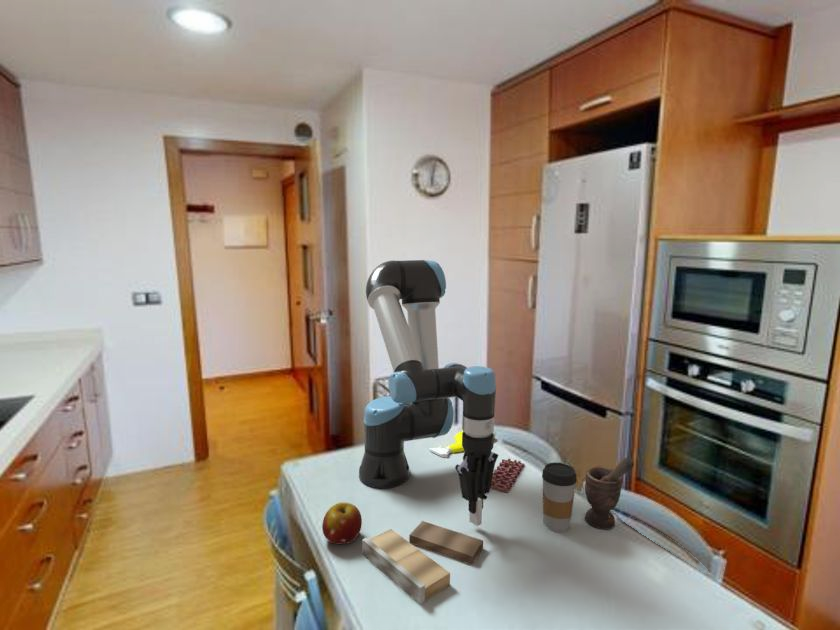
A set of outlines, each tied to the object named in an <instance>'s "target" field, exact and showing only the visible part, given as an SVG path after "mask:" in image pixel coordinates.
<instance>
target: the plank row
mask: <svg viewBox="0 0 840 630" xmlns="http://www.w3.org/2000/svg"><path fill="white" fill-rule="evenodd" d="M361 544H362V547H361V549H362V550H361V551H362V555H363V556H364V557H365V558H366V559H368V560H369V561H370V562H371V563H372V564H374V566H376V567H377V568H378V569H379V570H380V571H381V572H382V573H384V574H385V575H386V576H387V577H388V578H389V579H390V580H392V581H393V582H394V583H395V584H396V585H397V586H398V587H399V588H401V589H402V590H403V591H404V592H406V594H408V595H409V596H410V597H411V598H412V599H413V600H415V601H416V602H417V603H418V604H419V605H420V604H423V603H424V602H426V601H427V600H428V599H430V598H432V597H433V596H435V595H437V594H439V593H440V592H441V591H444V589H447V587H449V586H451V572H450V571H448V570H447V569H446V568H444V567H443V566H442V565H440V564H439V563H438V562H436V561H435V560H434V559H432V558H431V557H429V556H428V555H427V554H426V553H424V552H423V551H421V550H420V549H418V547H416V545H414V544H412V543H409V540H407V539H405V538H404V537H403V536H401V535H400V534H399V533H397V532H396V531H394V530H393V529H392V528H390V529H388V530H386V531H383V532H382V533H380V534H377V535H376V536H374V537H371V538H368V537H365V538H362V543H361Z"/></svg>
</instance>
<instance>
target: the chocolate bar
mask: <svg viewBox="0 0 840 630" xmlns="http://www.w3.org/2000/svg"><path fill="white" fill-rule="evenodd" d="M525 464H526V463H522V461H521V460H517V459H514V460H511V458H507V459H505V458H502V459H501V462H499V465H497V466H496V469H495V468H494V472H493V477H492V482H491V488H490V490H494V491H496V492H497V491H498V492H502V493H506V494H509V492H510V490H511V489H512V487H513V486H514V484H515V483H516V480H517V479H518V477H519V476H520V474H521V473H522V471H523V470H524V468H525V466H526V465H525ZM485 487H486V486H485Z"/></svg>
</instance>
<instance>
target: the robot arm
mask: <svg viewBox="0 0 840 630" xmlns="http://www.w3.org/2000/svg"><path fill="white" fill-rule="evenodd" d="M446 289H447V282H446V275H445V272H444V270H443V268H442V267H441V265H440V264H439V263H438V262H437V261H435V260H427V259H426V260H425V259H421V260H420V259H419V260H415V259H414V260H387V261H385V262H382V263H381V264H379V265H378V266H376V267H375V269H373V270H372V272H371V274H370V275H369V277H368V278H367V282H366V286H365V297H366V299H367V303H368V306H369V307H370V308H372V309H373V310H374V313H375V317H376V320H377V322H378V326H379V328H380V332H381V336H382V339H383V342H384V344H385V348H386V351H387V352H386V353H387V355H388V358H389V361H390V364H391V368H392V371H393V373H391V374H390V375H389V377H388V389H389V394H390V395H388V396H381V397H377V398H376V399H373V400H371V401H370V402H369V403H368V404H367V405H366V406H365V408H364V415H363V416H364V417H363V424H364V453H363V456H362V460H361V463H360V466H359V469H358V478H359V480H360V482H361V483H362V484H364V485H366V486H368V487H371V488H376V489H377V488H378V489H389V488H394V487H397V486H401V485H402V484H405V483H406V482H407V481H408V480H409V479H410V466H409V463H408V459H407V457H406V453H405V449H404V448H405V446H404V445H405V442H410V441H417V440H422V439H430V438H431V439H435V438H437V437H442V436H445V435H447V434H448V433H449V432H450V430H451V429H452V427H453V424H454V423H453V422H454V415H455V413H454V412H455V411H454V406H453V402H452V400H451V399H450V398H458V399H459V400H461V401H462V423H461V424H462V428H461V429H462V430H461V431H463V433H462V446H463V449H464V451H463V452H464V453H463V456H462V462H461V463H460V464H456V465H455V467H454V469H455V470H456V472H457V475H458V480H459V486H460V492H461V497H462V499H464V500H466V501H468V512H469V522H470V524H471V523H472V524H473V525H474V526H476V527H478V526H480V525H482V518H483V516H482V515H483V508H484V500H487V498H488V496H487V495H486V494H490V491H491V489H490V488H491V482H492V477H493V473H494V470H495V465H496V462H497V460H498V457H499V454H498V453H495V452H494V451H493V449H494V440H495V434H494V432H495V413H496V412H495V410H496V391H497V382H496V373H495V371H494V369H492V368H490V367H485V366H480V365H479V366H470V367H467V366H465V365H463V364H461V363H459V362H458V363H457V362H451V363H448V364H446V365H445V366H443V367H440V368H439V365H440V364H439V353H438V352H439V351H438V336H437V316H436V308H437V307H438V306H439V305H440V302H441V301H440V299H441V298H443V297H444V295H445V294H446ZM400 300H401V302H400ZM403 308H404V309H405V310H406V312H407V319H406V316H405V313H404V310H403ZM485 486H486V487H485Z"/></svg>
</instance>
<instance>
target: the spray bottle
mask: <svg viewBox="0 0 840 630" xmlns="http://www.w3.org/2000/svg"><path fill="white" fill-rule="evenodd" d="M462 433H463V430H461V431H458V432H457V433H456V434H455V436H454V442H455V443H452V444H448V445H447V446H445V447H442V445H441V444H440V445H439V446H438V447H434V448H433V447H429V449H428V450H429V452H431V453H433V454H435V455H437V456H440V457H441V458H446V459H447V458H448V456H449V455H450V454H454V453H462V452H465V451H464V449H463V446H462Z"/></svg>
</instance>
